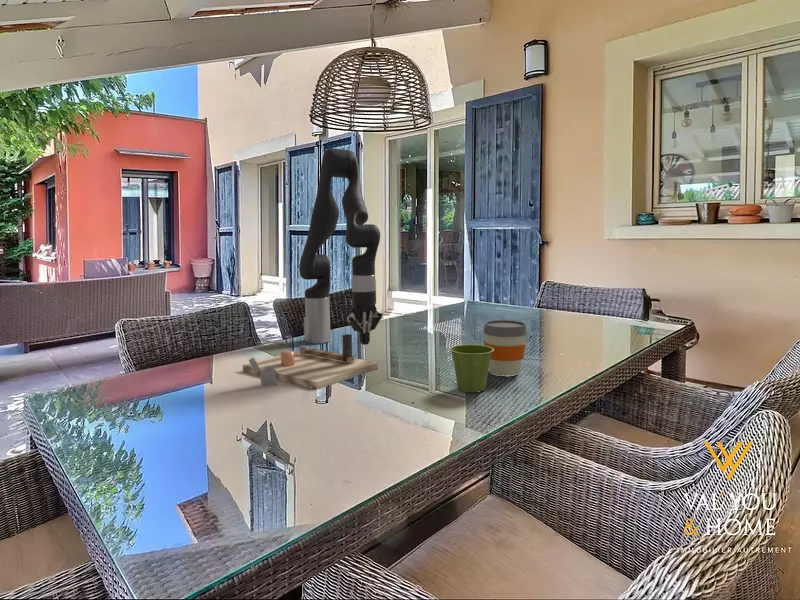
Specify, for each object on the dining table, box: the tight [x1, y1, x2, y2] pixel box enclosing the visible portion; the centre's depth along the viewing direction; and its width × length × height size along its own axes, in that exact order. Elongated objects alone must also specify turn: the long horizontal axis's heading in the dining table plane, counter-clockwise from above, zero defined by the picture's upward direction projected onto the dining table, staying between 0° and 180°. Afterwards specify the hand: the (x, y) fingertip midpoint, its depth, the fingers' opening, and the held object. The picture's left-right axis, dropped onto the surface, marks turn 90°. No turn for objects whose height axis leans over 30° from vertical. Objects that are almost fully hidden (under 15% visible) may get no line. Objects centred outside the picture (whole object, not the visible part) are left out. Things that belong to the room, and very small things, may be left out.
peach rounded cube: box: [280, 350, 295, 366], centre depth 163 cm, size 4×4×4 cm
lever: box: [299, 333, 355, 362], centre depth 170 cm, size 22×3×8 cm, turn 53°
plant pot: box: [448, 344, 494, 393], centre depth 143 cm, size 12×12×11 cm
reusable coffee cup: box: [483, 319, 528, 375], centre depth 159 cm, size 13×13×15 cm
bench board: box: [242, 350, 379, 389], centre depth 165 cm, size 32×26×2 cm
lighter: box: [248, 357, 278, 387], centre depth 149 cm, size 7×2×8 cm, turn 106°
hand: (364, 344), depth 169 cm, fingers closed
